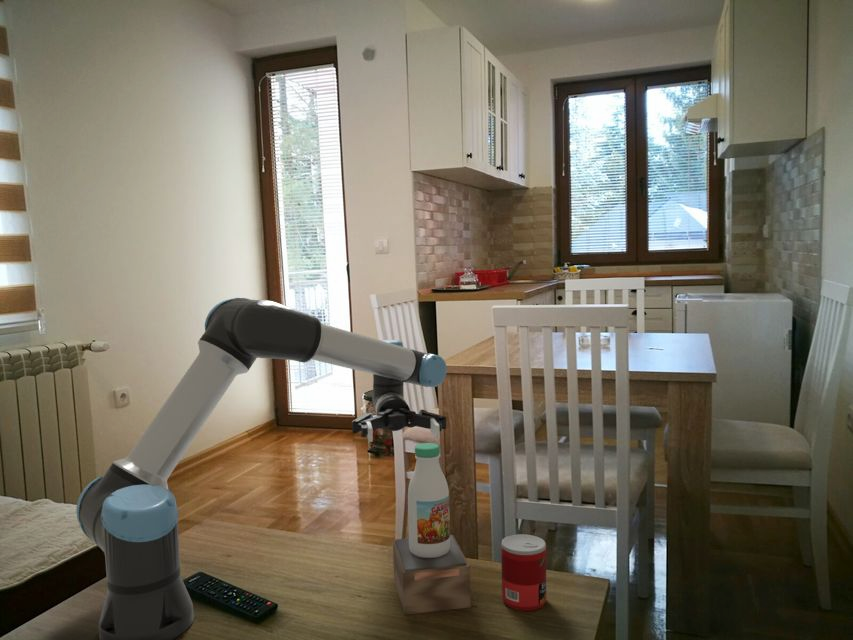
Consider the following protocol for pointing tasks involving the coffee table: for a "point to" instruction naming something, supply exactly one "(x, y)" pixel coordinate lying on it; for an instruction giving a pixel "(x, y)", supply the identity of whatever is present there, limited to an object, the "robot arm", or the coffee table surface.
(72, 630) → the coffee table surface
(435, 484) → the milk bottle
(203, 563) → the coffee table surface
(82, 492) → the robot arm
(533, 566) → the canned food
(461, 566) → the riser
